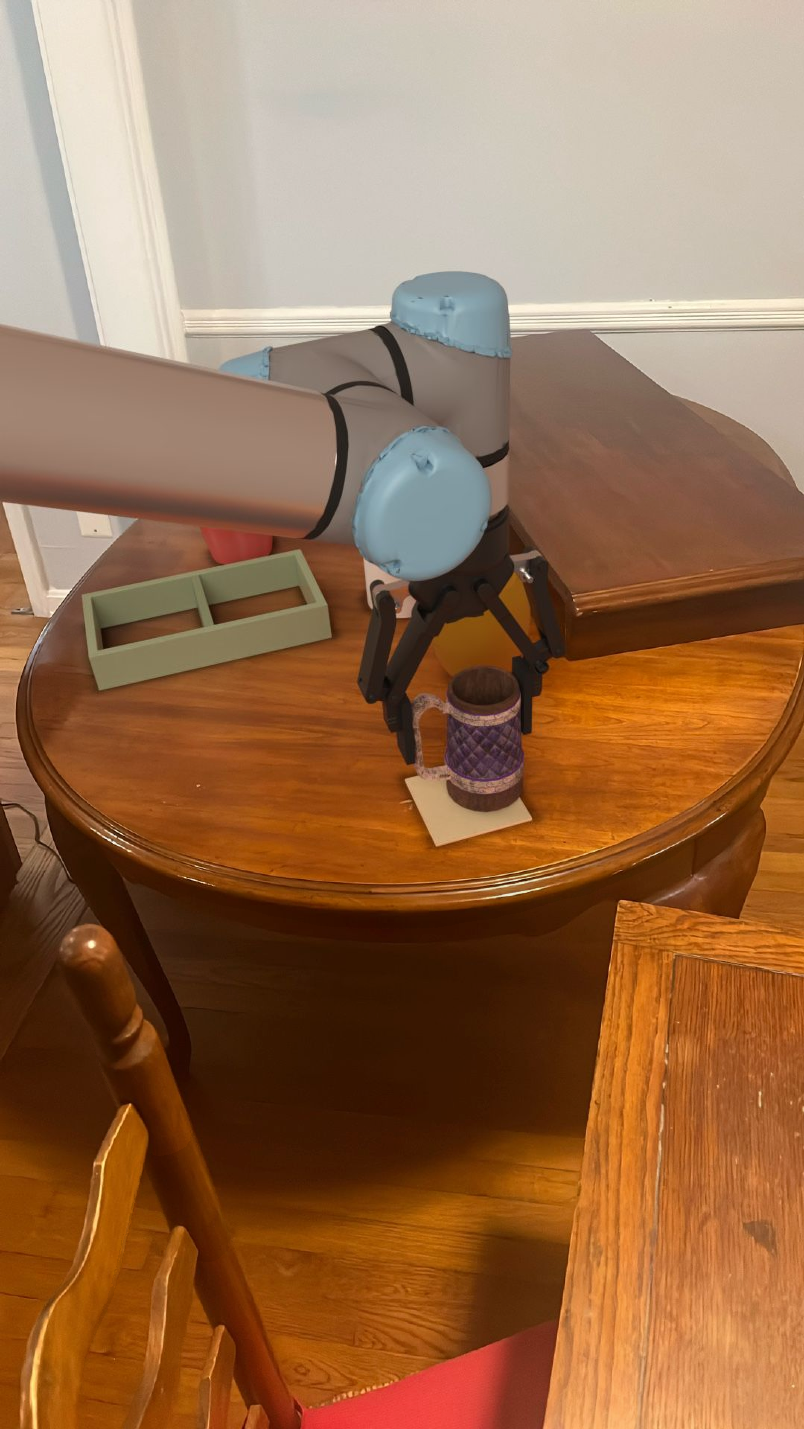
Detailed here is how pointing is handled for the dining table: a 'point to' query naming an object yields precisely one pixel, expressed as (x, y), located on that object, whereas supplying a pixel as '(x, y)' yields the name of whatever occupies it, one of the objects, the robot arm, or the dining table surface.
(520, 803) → the coaster
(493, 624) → the apple
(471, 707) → the mug
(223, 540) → the flower pot
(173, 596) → the holder
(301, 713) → the dining table surface
